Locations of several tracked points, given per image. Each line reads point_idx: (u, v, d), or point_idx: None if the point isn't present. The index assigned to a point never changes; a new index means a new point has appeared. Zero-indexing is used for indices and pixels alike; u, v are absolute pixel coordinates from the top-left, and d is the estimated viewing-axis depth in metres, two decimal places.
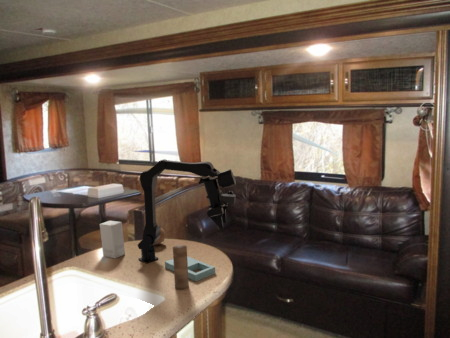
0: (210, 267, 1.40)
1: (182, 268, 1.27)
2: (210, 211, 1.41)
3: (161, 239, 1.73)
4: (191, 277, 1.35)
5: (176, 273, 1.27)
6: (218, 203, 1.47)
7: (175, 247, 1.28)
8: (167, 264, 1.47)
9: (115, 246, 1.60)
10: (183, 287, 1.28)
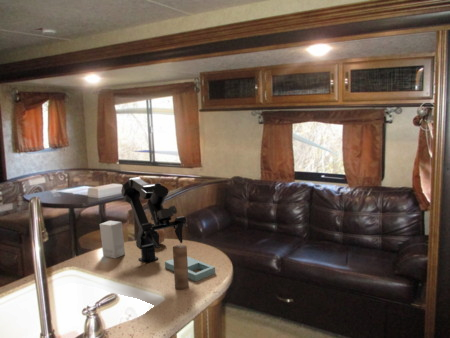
0: (210, 267, 1.40)
1: (182, 268, 1.27)
2: (139, 230, 1.35)
3: (161, 239, 1.73)
4: (191, 277, 1.35)
5: (176, 273, 1.27)
6: (156, 221, 1.38)
7: (175, 247, 1.28)
8: (167, 264, 1.47)
9: (115, 246, 1.60)
10: (183, 287, 1.28)
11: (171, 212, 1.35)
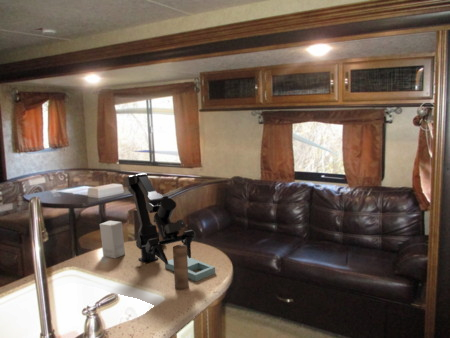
0: (210, 267, 1.40)
1: (182, 268, 1.27)
2: (146, 246, 1.30)
3: (161, 239, 1.73)
4: (191, 277, 1.35)
5: (176, 273, 1.27)
6: (163, 236, 1.33)
7: (175, 247, 1.28)
8: (167, 264, 1.47)
9: (115, 246, 1.60)
10: (183, 287, 1.28)
11: (179, 226, 1.30)
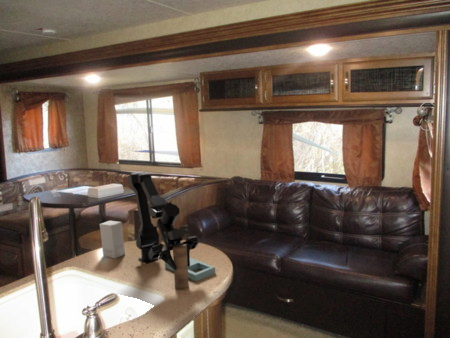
0: (210, 267, 1.40)
1: (182, 268, 1.27)
2: (149, 252, 1.28)
3: None
4: (191, 277, 1.35)
5: (176, 273, 1.27)
6: None
7: (175, 247, 1.28)
8: (167, 264, 1.47)
9: (115, 246, 1.60)
10: (183, 287, 1.28)
11: (183, 233, 1.28)
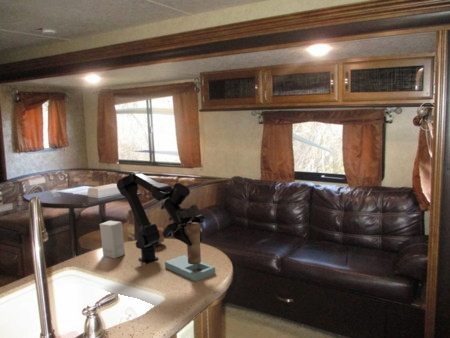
0: (210, 267, 1.40)
1: (196, 243, 1.35)
2: (163, 232, 1.33)
3: (161, 239, 1.73)
4: (191, 277, 1.35)
5: (191, 249, 1.35)
6: (178, 221, 1.37)
7: (189, 224, 1.35)
8: (167, 264, 1.47)
9: (115, 246, 1.60)
10: (197, 261, 1.36)
11: (195, 211, 1.36)
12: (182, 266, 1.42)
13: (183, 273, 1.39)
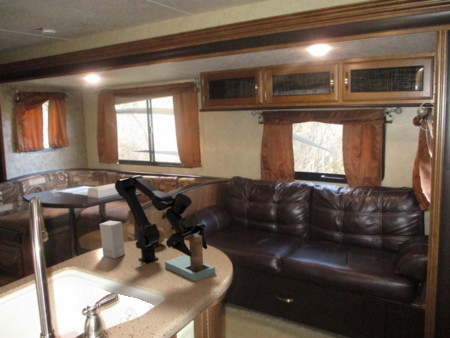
0: (210, 267, 1.40)
1: (200, 255, 1.38)
2: (167, 241, 1.35)
3: (161, 239, 1.73)
4: (191, 277, 1.35)
5: (194, 261, 1.38)
6: (181, 231, 1.40)
7: (191, 237, 1.38)
8: (167, 264, 1.47)
9: (115, 245, 1.60)
10: None
11: (197, 220, 1.39)
12: (182, 266, 1.42)
13: (183, 273, 1.39)
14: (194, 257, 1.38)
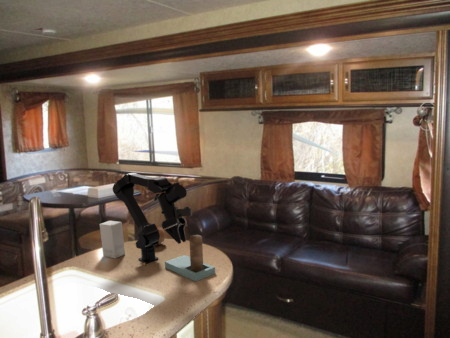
0: (210, 267, 1.40)
1: (200, 255, 1.38)
2: (164, 222, 1.35)
3: (161, 239, 1.73)
4: (191, 277, 1.35)
5: (194, 261, 1.38)
6: (174, 217, 1.42)
7: (192, 237, 1.38)
8: (167, 264, 1.47)
9: (115, 245, 1.60)
10: None
11: None
12: (182, 266, 1.42)
13: (183, 273, 1.39)
14: (194, 257, 1.38)
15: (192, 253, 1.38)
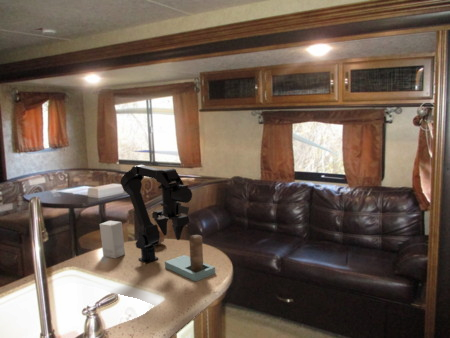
0: (210, 267, 1.40)
1: (200, 255, 1.38)
2: (181, 219, 1.37)
3: (161, 239, 1.73)
4: (191, 277, 1.35)
5: (194, 261, 1.38)
6: (176, 213, 1.43)
7: (192, 237, 1.38)
8: (167, 264, 1.47)
9: (115, 246, 1.60)
10: None
11: None
12: (182, 266, 1.42)
13: (183, 273, 1.39)
14: (194, 257, 1.37)
15: (192, 253, 1.38)
